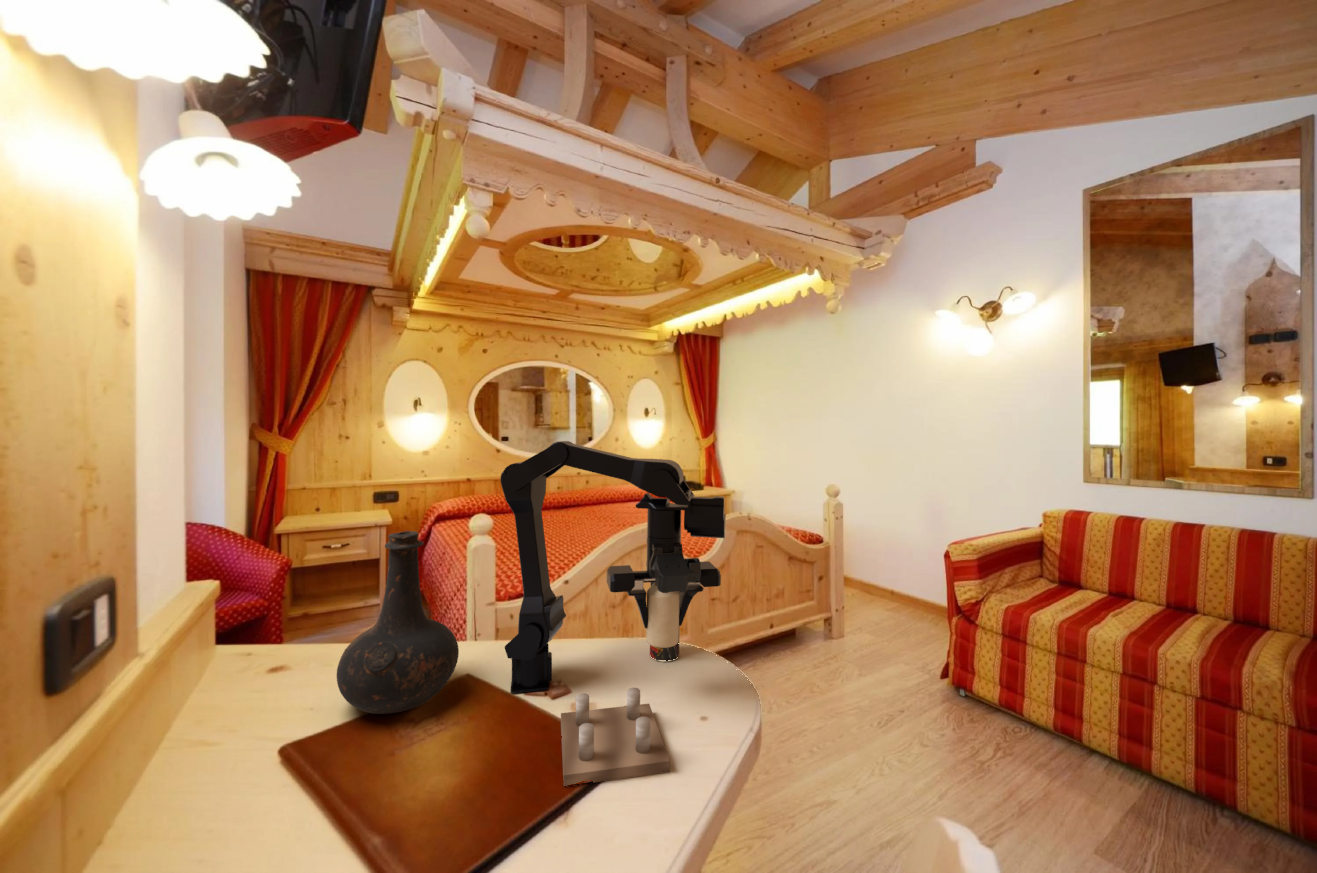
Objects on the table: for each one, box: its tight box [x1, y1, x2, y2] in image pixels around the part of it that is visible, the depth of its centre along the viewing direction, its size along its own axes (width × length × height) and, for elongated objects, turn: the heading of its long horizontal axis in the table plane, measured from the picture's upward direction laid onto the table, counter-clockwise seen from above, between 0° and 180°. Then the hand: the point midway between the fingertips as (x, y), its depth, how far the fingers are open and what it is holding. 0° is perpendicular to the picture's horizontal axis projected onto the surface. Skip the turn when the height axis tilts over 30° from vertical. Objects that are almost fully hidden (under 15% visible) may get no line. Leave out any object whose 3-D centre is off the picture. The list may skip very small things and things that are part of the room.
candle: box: [645, 582, 680, 648], centre depth 85 cm, size 6×6×10 cm
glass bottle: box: [336, 530, 460, 715], centre depth 84 cm, size 18×18×28 cm
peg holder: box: [560, 687, 671, 787], centre depth 73 cm, size 14×14×6 cm
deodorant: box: [649, 582, 681, 661], centre depth 101 cm, size 6×6×15 cm
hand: (662, 626), depth 85 cm, fingers closed on candle, 5 cm apart
